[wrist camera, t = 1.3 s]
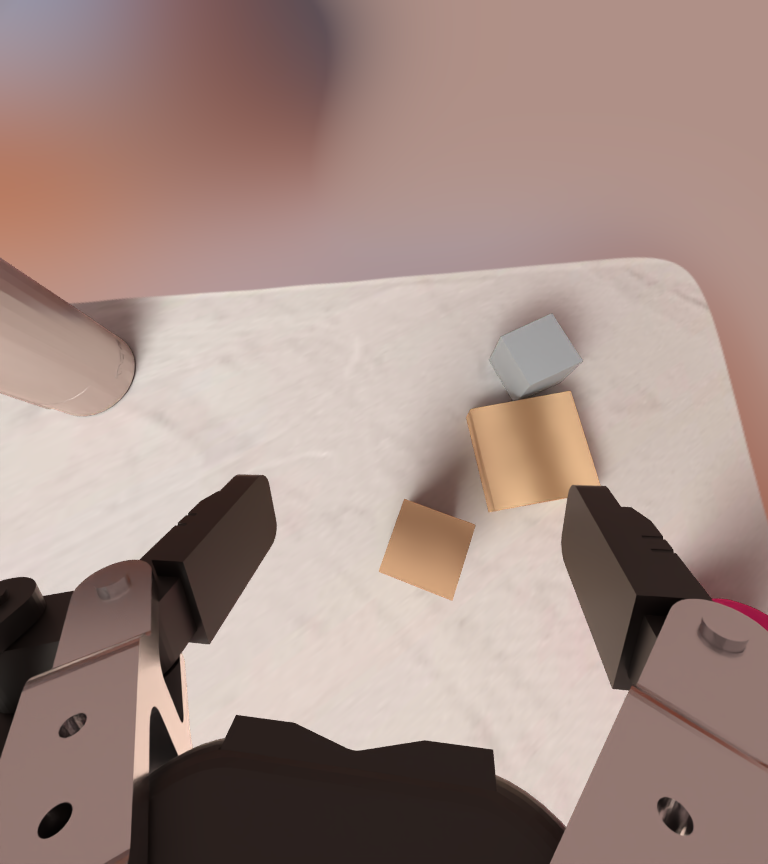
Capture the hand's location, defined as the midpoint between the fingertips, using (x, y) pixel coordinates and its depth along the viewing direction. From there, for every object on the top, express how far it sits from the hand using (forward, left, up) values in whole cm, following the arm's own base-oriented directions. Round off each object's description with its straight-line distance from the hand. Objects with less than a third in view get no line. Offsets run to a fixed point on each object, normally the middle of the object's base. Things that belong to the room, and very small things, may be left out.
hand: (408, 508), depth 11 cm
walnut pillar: (+1, -2, -25) cm, 26 cm away
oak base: (+12, +4, -26) cm, 29 cm away
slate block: (+14, +12, -26) cm, 32 cm away
